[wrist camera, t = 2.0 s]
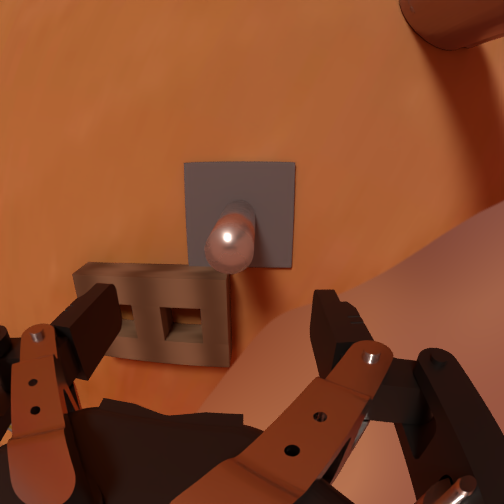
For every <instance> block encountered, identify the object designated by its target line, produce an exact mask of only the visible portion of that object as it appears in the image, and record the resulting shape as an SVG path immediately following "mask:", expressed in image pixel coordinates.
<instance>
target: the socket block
mask: <svg viewBox="0 0 504 504" xmlns="http://www.w3.org/2000/svg"><path fill="white" fill-rule="evenodd" d="M72 276H73V280H74V285H75V289H76V294H77V298H78V297H80V296H82V295H84V294H85V293H86V292H88V291H89V290H90V289H91V288H92V287H93V286H94V285H95V284H96V283H106V284H114V285H115V287H116V290H117V295H118V301H119V304H123V305H131V307H132V312H133V317H134V320H125V319H122V327H121V331H120V332H119V334H118V335H117V337H116V338H115V340H114V341H113V343H112V344H111V346H110V347H109V349H108V350H107V352H106V353H105V356H111V357H118V358H125V359H133V360H141V361H150V362H159V363H170V364H181V365H195V366H211V367H230V360H231V352H232V332H231V301H230V274H224V273H221V272H218V271H217V270H215V269H214V268H213V267H206V266H189V265H179V264H134V263H97V262H88V263H86V264H85V265H84V266H82V267H81V268H80V269H78V270H77V271H76V272H75V273H73V274H72ZM171 308H191V309H200V312H201V324H202V325H198V324H179V323H173V319H172V312H171Z"/></svg>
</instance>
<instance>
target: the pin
mask: <svg viewBox="0 0 504 504" xmlns="http://www.w3.org/2000/svg"><path fill="white" fill-rule="evenodd" d="M254 238H255V211H254V209H253V207H252V206H251V205H250V204H249V203H248V202H246V201H243V200H235V201H232V202H230V203H229V204H228V205H227V206H226V207H225V209H224V211H223V212H222V214H221V216H220V218H219V219H218V221H217V223H216V225H215V226H214V228H213V230H212V232H211V234H210V235H209V237H208V239H207V241H206V244H205V256H206V259H207V261H208V263H209V264H210V265H211V266H212V267H213V268H214V269H215V270H217V271H218V272H221V273H224V274H236V273H239V272H241V271H243V270H245V269H246V268H247V267H248V266H249V265H250V263H251V261H252V259H253V255H254Z"/></svg>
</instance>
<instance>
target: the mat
mask: <svg viewBox="0 0 504 504" xmlns="http://www.w3.org/2000/svg"><path fill="white" fill-rule="evenodd" d="M184 181H185V208H186V229H187V246H188V261H189V266H206V267H212V266H211V265H210V264H209V263H208V261H207V259H206V256H205V244H206V241H207V239H208V237H209V235H210V234H211V232H212V230H213V228H214V226H215V225H216V223H217V221H218V219H219V218H220V216H221V214H222V212H223V211H224V209H225V207H226V206H227V205H228V204H229V203H230V202H232V201H235V200H243V201H246V202H248V203H249V204H250V205H251V206H252V207H253V209H254V211H255V238H254V255H253V259H252V261H251V263H250V265H249V266H248V267H288V268H291V262H292V242H293V218H294V188H295V162H194V163H184Z"/></svg>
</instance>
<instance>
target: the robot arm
mask: <svg viewBox="0 0 504 504" xmlns="http://www.w3.org/2000/svg"><path fill="white" fill-rule="evenodd" d="M399 3H400V7H401V10H402V12H403V14H404V16H405V18H406V20H407V21H408V23H409V24H410V26H411V27H412V28H413V29H414V30H415V31H416V32H417V33H418V34H419V35H420V36H421V37H422V38H423V39H424V40H426V41H427V42H429V43H430V44H432V45H434V46H436V47H438V48H441V49H444V50H456V49H459V48H462V47H466V48H471V47H474V46H477V45H480V44H483V43H486V42H489V41H492V40H495V39H498V38H501V37H504V0H399ZM121 327H122V316H121V311H120V306H119V301H118V295H117V290H116V287H115V285H114V284H106V283H96V284H95V285H94V286H93V287H92V288H91V289H90V290H89V291H88V292H86V293H85V294H84V295H82V296H80V297H78V298H77V299H76V300H74V301H73V302H72V303H71V304H70V306H68V307H67V308H66V309H65V311H63V312H62V313H61V314H60V315H59V316H58V317H57V318H56V319H55V320H54V321H53V322H52V323H51V324H50V325H49V324H37V325H34V326H31V327H29V328H28V329H26V330H25V331H24V332H23V334H22V336H21V338H10V337H9V334H8V331H7V329H6V327H4V326H1V325H0V441H1V440H2V438H3V436H4V434H5V433H6V431H7V429H8V428H9V426H10V424H11V423H12V438H11V439H9V440H8V443H7V444H5V445H3V446H1V447H0V504H354V503H353V502H351V501H350V500H349V499H348V498H347V497H345V496H344V495H343V494H342V493H340V492H339V491H338V490H336V489H335V488H334V487H333V486H332V485H331V484H332V483H333V482H334V480H335V479H336V477H337V476H338V474H339V472H340V471H341V469H342V467H343V466H344V464H345V462H346V460H347V458H348V457H349V456H350V454H351V452H352V451H353V449H354V448H355V446H356V444H357V443H358V441H359V439H360V438H361V436H362V434H363V433H364V431H365V429H366V427H367V426H368V424H369V422H370V420H375V421H383V422H392V423H394V425H395V428H396V431H397V434H398V438H399V441H400V444H401V447H402V450H403V454H404V457H405V460H406V464H407V467H408V470H409V474H410V478H411V481H412V485H413V488H414V492H415V495H416V500H417V501H416V502H415V503H414V504H504V435H503V433H502V431H501V429H500V428H499V426H498V424H497V423H496V421H495V419H494V417H493V416H492V414H491V412H490V411H489V409H488V407H487V406H486V404H485V403H484V401H483V399H482V398H481V396H480V394H479V393H478V392H477V390H476V388H475V387H474V385H473V384H472V382H471V381H470V379H469V377H468V376H467V374H466V373H465V371H464V370H463V368H462V367H461V365H460V364H459V363H458V361H457V360H456V358H455V357H454V356H453V355H452V354H451V353H449V352H447V351H445V350H443V349H439V348H427V349H424V350H422V351H421V352H420V353H419V356H418V359H417V361H413V360H404V359H397V358H393V353H392V351H391V350H390V348H388V347H387V346H386V345H384V344H382V343H380V342H376V341H374V340H373V338H372V336H371V334H370V333H369V331H368V329H367V327H366V326H365V324H364V323H363V320H362V318H361V317H360V315H359V313H358V311H357V309H356V308H355V307H354V306H352V305H351V304H349V303H348V302H340V300H339V298H338V296H337V294H336V292H335V290H315V291H314V295H313V304H312V313H311V322H310V339H311V344H312V348H313V352H314V356H315V359H316V363H317V368H318V372H319V376H320V377H316V378H315V379H314V380H313V381H312V382H311V383H310V384H309V385H308V386H307V388H305V390H304V391H303V392H302V393H301V394H300V395H299V396H298V397H297V398H296V400H295V401H294V402H293V403H292V404H291V405H290V406H289V407H288V408H287V409H286V410H285V411H284V412H283V413H282V414H281V415H280V416H279V417H278V418H277V419H276V420H275V421H274V422H273V423H272V424H271V425H270V426H269V427H268V428H267V429H266V430H265V431H262V430H259V429H257V428H254V427H251V426H247V425H243V414H223V413H207V412H205V413H194V414H184V415H171V416H168V415H163V414H160V413H157V412H154V411H152V410H149V409H146V408H144V407H141V406H139V405H136V404H133V403H127V402H122V401H117V400H112V399H107V398H103V400H102V402H101V404H100V406H99V407H92V408H85V409H82V407H81V403H80V400H79V396H78V392H77V388H76V386H75V383H74V380H75V378H78V379H82V380H87V381H88V380H89V378H90V377H91V375H92V373H93V372H94V370H95V369H96V367H97V366H98V364H99V363H100V361H101V359H102V358H103V356H104V355H105V353H106V352H107V350H108V349H109V347H110V346H111V344H112V343H113V341H114V340H115V338H116V337H117V335H118V334H119V332H120V331H121Z"/></svg>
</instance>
